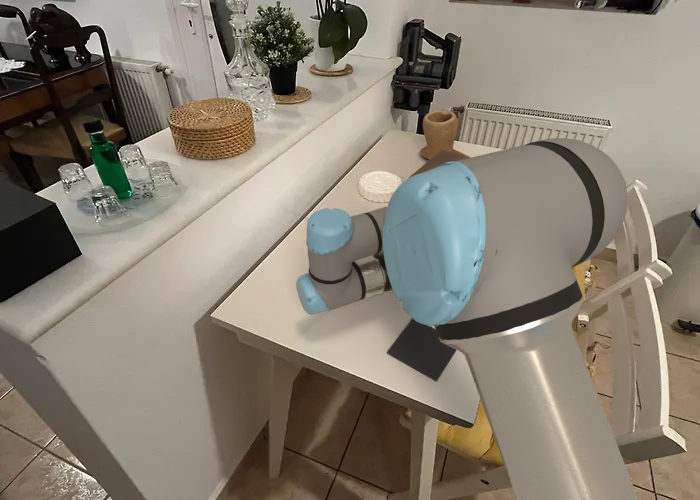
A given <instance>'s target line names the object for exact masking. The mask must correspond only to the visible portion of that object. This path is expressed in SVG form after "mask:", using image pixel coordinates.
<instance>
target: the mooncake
mask: <svg viewBox="0 0 700 500" xmlns="http://www.w3.org/2000/svg"><path fill="white" fill-rule="evenodd" d="M358 180H359V181H358V192H359V195H360V196H361V197H362V198H363V199H365V200H367V201H369V202H373V203H380V204H384V203H389V201H390V199H391V197H392V195H393V193H394V192H395V190H396V189H397V188H398V187H399V186H400V185H401V184H402V183H403V181H402V179H401V178H400V177H399V176H398V175H397V174H394V173H392V172H388V171H385V170H384V171H383V170H373V171H370V172H366V173H365V174H362V175H361V177H359V179H358Z"/></svg>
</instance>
